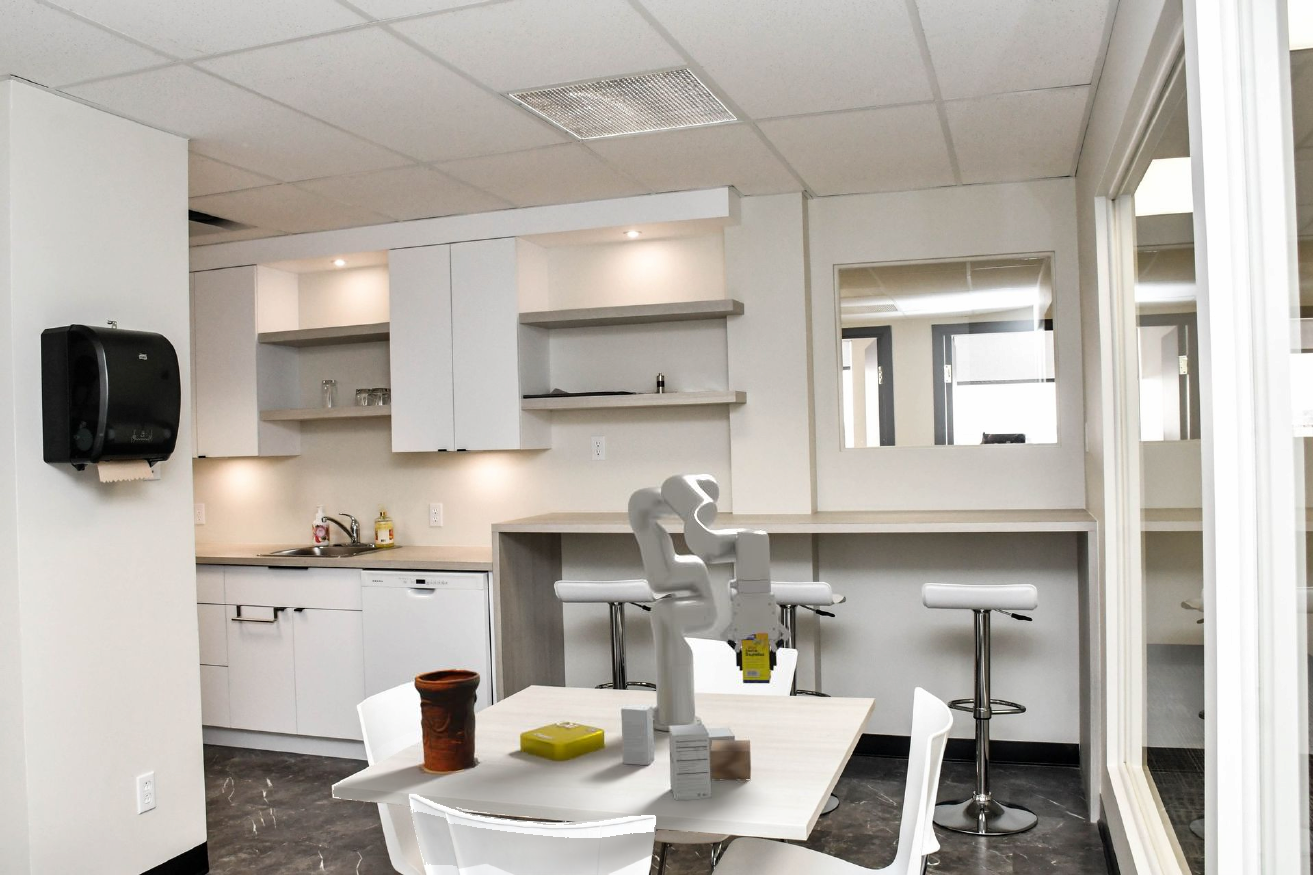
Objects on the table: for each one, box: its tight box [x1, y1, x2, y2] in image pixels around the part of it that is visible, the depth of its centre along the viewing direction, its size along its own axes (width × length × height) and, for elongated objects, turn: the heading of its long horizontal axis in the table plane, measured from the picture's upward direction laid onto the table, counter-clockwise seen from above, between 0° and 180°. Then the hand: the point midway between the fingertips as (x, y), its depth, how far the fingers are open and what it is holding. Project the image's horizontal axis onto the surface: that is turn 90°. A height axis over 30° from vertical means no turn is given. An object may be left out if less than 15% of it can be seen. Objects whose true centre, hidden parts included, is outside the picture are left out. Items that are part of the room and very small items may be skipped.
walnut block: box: [710, 739, 752, 781], centre depth 209 cm, size 8×8×6 cm
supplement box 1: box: [668, 723, 712, 801], centre depth 197 cm, size 7×7×13 cm
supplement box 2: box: [741, 633, 772, 684], centre depth 219 cm, size 6×6×11 cm
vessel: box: [413, 668, 481, 775], centre depth 222 cm, size 14×14×20 cm
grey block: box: [706, 727, 736, 764], centre depth 219 cm, size 7×7×6 cm
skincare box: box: [620, 704, 655, 766], centre depth 219 cm, size 6×4×12 cm
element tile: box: [519, 720, 606, 762], centre depth 231 cm, size 15×15×5 cm
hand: (756, 668), depth 219 cm, fingers closed on supplement box 2, 6 cm apart
